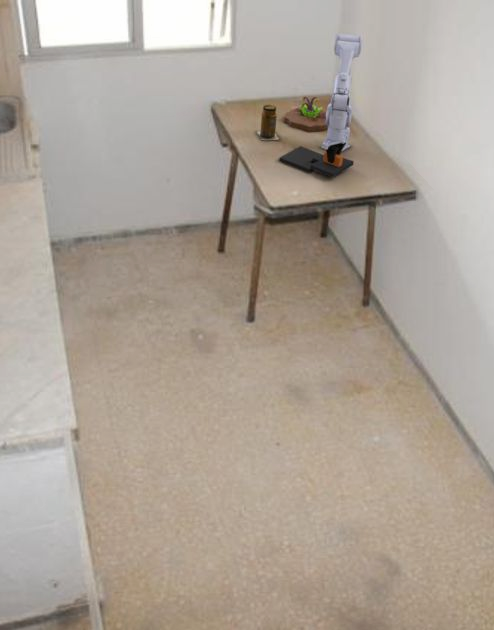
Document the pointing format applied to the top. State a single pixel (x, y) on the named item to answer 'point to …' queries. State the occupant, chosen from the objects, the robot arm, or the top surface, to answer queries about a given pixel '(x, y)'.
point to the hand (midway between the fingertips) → (332, 161)
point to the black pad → (300, 158)
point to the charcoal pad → (330, 165)
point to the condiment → (268, 123)
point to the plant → (307, 117)
